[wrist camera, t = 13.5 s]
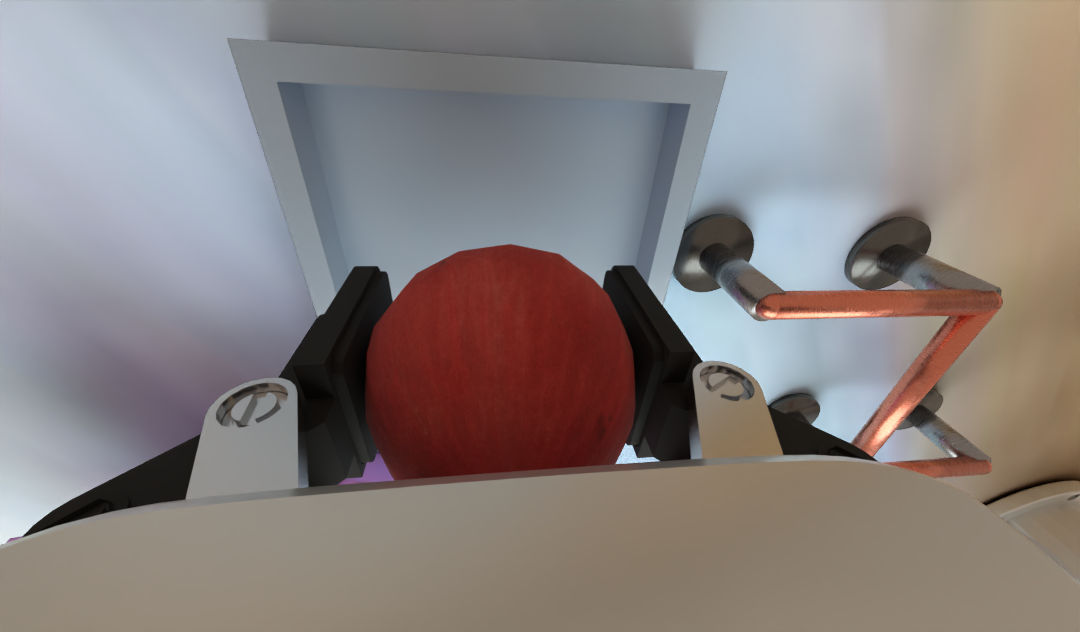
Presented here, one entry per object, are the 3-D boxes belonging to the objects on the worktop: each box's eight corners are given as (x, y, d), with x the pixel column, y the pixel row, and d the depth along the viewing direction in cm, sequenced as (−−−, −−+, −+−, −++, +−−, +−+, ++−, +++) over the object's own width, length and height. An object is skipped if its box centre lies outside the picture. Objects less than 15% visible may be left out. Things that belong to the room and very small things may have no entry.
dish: (624, 368, 18) (637, 397, 17) (360, 378, 17) (347, 411, 15) (695, 70, 12) (727, 71, 10) (266, 41, 10) (227, 38, 9)
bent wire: (915, 423, 24) (992, 488, 20) (621, 441, 22) (648, 519, 18) (1095, 220, 17) (1265, 265, 13) (681, 213, 14) (749, 266, 11)
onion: (593, 350, 14) (696, 627, 7) (431, 376, 13) (379, 688, 7) (587, 184, 10) (773, 412, 4) (372, 215, 10) (154, 517, 3)
